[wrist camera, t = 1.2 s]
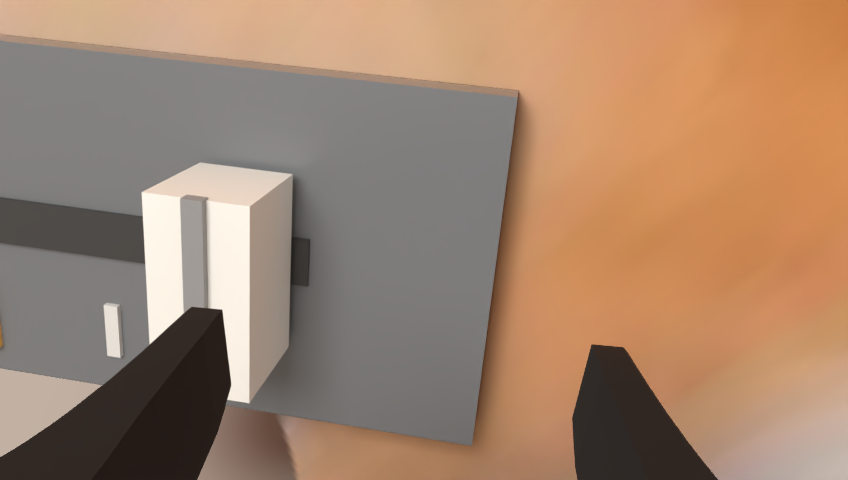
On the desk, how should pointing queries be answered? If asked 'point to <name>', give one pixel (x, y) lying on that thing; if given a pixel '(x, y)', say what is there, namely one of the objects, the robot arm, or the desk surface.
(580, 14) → the desk surface
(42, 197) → the board
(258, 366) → the fader tab
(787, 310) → the desk surface
